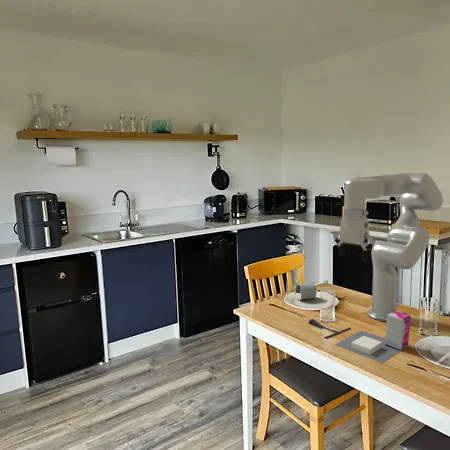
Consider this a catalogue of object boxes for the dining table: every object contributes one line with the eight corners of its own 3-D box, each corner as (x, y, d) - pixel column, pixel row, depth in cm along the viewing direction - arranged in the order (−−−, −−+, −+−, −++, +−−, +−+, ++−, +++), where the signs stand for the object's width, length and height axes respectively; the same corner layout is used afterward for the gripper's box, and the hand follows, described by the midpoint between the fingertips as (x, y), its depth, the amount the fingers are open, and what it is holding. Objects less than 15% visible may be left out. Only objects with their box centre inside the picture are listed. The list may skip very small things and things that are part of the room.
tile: (363, 335, 144) (351, 342, 138) (382, 342, 138) (370, 349, 133) (363, 341, 144) (351, 348, 139) (381, 347, 139) (369, 355, 133)
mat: (361, 331, 153) (361, 330, 153) (408, 347, 140) (408, 345, 140) (334, 346, 142) (334, 344, 142) (382, 365, 128) (382, 363, 128)
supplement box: (400, 351, 136) (402, 319, 134) (384, 345, 140) (385, 314, 139) (409, 346, 140) (411, 314, 138) (393, 340, 144) (394, 310, 142)
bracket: (321, 320, 167) (321, 314, 166) (351, 332, 155) (351, 325, 154) (297, 329, 158) (297, 322, 158) (326, 342, 146) (327, 335, 146)
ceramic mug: (317, 300, 188) (317, 284, 187) (301, 302, 186) (301, 286, 185) (307, 294, 199) (307, 279, 198) (292, 295, 197) (292, 280, 196)
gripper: (381, 214, 145) (379, 260, 147) (339, 210, 158) (338, 253, 160) (370, 216, 140) (369, 264, 142) (328, 212, 153) (327, 256, 155)
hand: (352, 258), depth 151 cm, fingers open, 9 cm apart
